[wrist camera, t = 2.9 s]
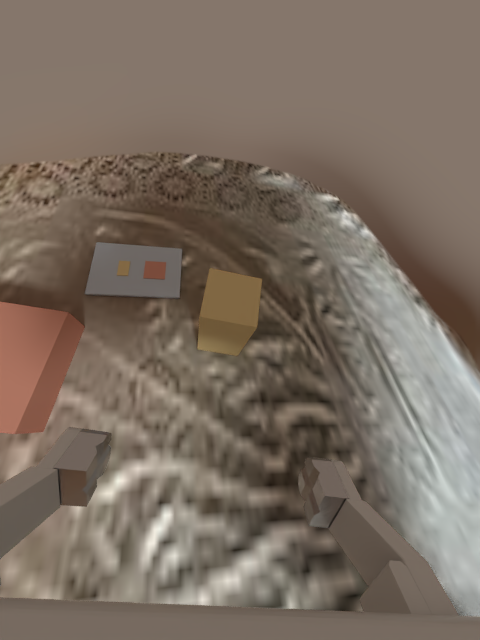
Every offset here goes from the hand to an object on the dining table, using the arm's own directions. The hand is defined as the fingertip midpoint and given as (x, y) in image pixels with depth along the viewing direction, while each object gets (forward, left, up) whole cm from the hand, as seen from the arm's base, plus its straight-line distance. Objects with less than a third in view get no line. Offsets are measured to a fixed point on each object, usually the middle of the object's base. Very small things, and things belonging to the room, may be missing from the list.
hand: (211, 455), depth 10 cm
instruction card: (+11, -17, -14) cm, 24 cm away
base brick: (+19, -4, -15) cm, 24 cm away
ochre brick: (0, -11, -14) cm, 18 cm away
